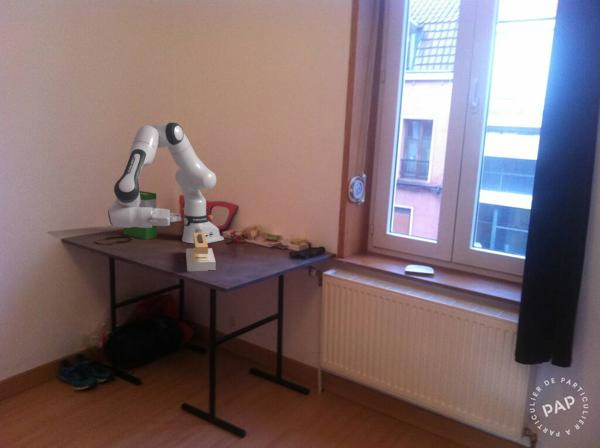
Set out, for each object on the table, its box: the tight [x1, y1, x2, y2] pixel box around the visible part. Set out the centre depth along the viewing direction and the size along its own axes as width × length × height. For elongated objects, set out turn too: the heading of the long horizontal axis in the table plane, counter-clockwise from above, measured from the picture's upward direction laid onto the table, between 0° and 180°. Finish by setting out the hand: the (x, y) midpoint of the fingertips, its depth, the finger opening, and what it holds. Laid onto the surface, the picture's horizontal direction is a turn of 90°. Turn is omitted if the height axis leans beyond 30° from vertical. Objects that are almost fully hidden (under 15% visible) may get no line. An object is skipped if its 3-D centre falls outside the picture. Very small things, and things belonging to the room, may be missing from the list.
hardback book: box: [123, 190, 158, 240], centre depth 284 cm, size 18×7×24 cm, turn 58°
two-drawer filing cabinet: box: [185, 247, 217, 272], centre depth 239 cm, size 29×12×8 cm, turn 14°
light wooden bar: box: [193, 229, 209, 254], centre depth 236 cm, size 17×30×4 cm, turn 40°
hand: (180, 217), depth 229 cm, fingers open, 4 cm apart
